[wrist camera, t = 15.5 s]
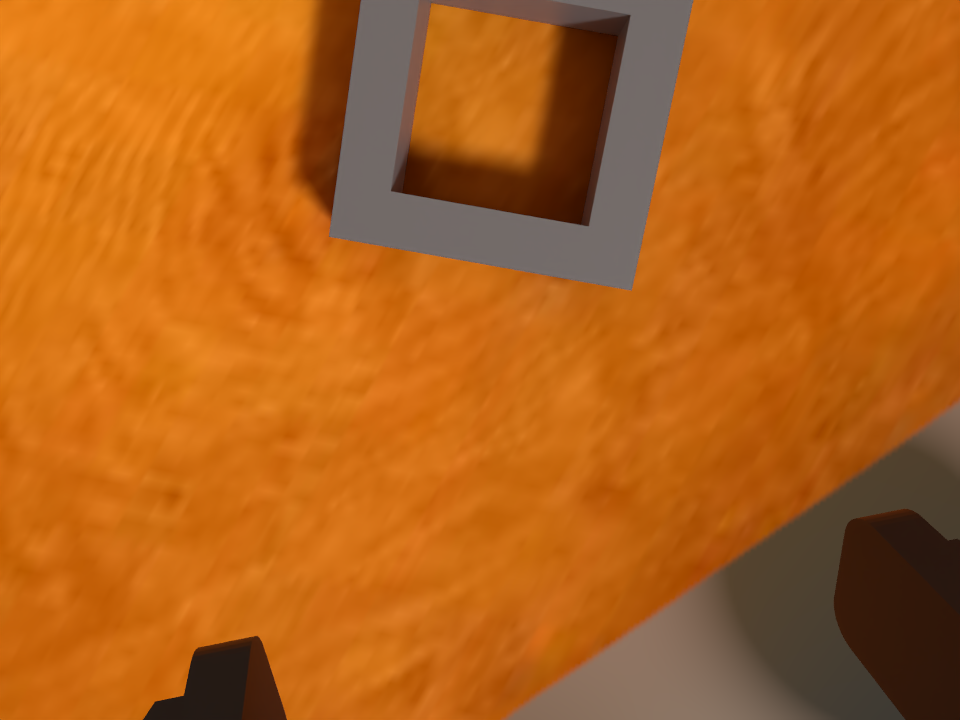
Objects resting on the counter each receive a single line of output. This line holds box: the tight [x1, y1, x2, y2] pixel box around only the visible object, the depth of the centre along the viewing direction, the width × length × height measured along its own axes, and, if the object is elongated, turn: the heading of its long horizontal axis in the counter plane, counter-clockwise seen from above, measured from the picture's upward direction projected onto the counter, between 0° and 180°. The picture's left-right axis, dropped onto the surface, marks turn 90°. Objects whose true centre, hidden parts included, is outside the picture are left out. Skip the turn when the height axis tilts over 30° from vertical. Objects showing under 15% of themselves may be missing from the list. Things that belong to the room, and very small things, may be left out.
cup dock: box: [329, 0, 693, 290], centre depth 33 cm, size 13×13×4 cm
